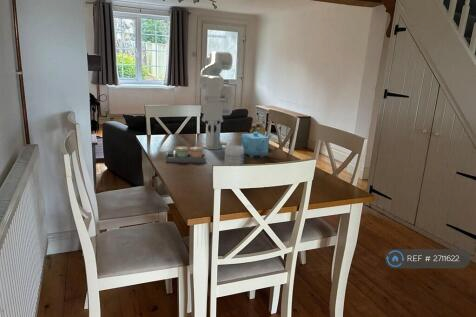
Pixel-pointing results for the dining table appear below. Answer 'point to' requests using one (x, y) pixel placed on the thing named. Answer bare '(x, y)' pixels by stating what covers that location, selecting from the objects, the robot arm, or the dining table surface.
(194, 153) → the terracotta jar
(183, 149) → the sage jar
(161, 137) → the dining table surface
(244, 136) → the teakettle
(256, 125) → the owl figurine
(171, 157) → the tray
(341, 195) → the dining table surface
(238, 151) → the supplement tub
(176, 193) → the dining table surface
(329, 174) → the dining table surface
